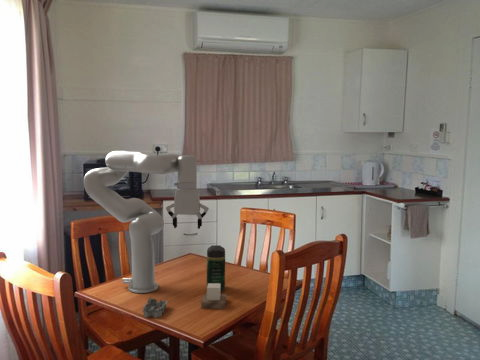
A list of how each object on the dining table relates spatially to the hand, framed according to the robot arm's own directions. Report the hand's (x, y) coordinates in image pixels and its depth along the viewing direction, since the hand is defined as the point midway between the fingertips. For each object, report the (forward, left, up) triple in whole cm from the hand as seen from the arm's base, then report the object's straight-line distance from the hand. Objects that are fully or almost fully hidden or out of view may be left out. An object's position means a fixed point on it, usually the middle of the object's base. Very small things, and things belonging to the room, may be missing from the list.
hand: (187, 227), depth 181 cm
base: (+12, -9, -29) cm, 32 cm away
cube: (+12, -9, -26) cm, 30 cm away
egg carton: (-9, -18, -29) cm, 35 cm away
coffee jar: (+11, +8, -28) cm, 32 cm away
